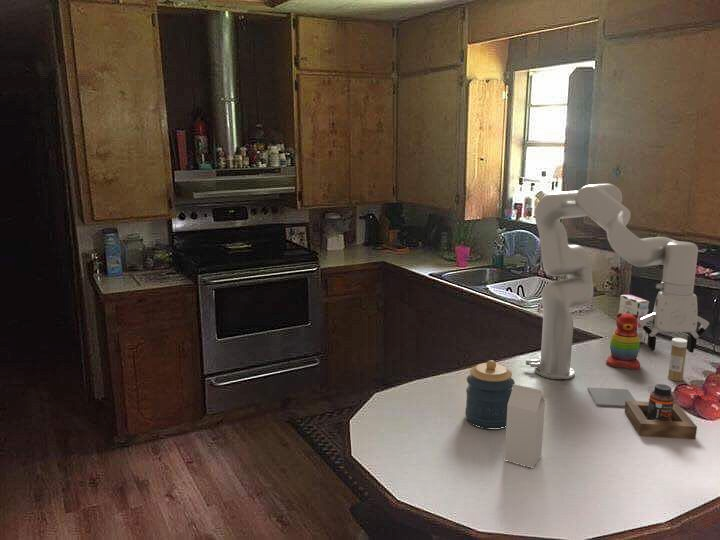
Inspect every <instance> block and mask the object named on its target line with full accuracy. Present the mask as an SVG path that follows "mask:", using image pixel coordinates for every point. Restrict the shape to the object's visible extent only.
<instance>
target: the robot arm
mask: <svg viewBox="0 0 720 540" xmlns="http://www.w3.org/2000/svg"><path fill="white" fill-rule="evenodd" d="M622 203H623V194H622V191H621V190H620V188H619V187H618V186H616V185H614V184H612V183H596V184H593V183H592V184H586V185H584V186H582V187H581V188H579V189H578V190H569V191H567V190H566V191H555V192H550V193H547V194H546V195H543V196H542V197H541V198H540V199H539V200H538V201H537V204H536V206H535V209H534V218H535V223H536V227H537V231H538V234H539V244H540V251H541V253H540V254H541V261H542V266H543V270H544V272H545V274H546V275H548V276H551V277H562V276H567V278H565V279H558V280H553V281H551V282H549V283H547V284H545V286H544V287H543V288H542V290H541V303H542V317H543V318H542V329H541V331H542V333H541V346H540V347H541V348H540V355H539V356H538V358H535V359H531V358H525V365H526V366H529V365H530V367H531V368H534V372H535V373H536V374H537V375H538V374H539V376H540V375H541V376H540V377H542V376H543V378H545V377H546V379H549V378H551V379H550V380H555V379H565V380H570V379H572V378H573V377H574V376H575V369H573V368H572V367H571V360H572V349H573V338H574V337H573V334H574V320H573V319H574V318H573V317H572V314H571V310H570V309H574V308H578V307H583V306H586V305H588V304H589V303H591V301H592V300H593V298H594V281H593V274H592V273H593V272H592V264H591V258H590V256H589V253H588V251H587V250H586V249H585V248H584V247H582V246H581V245H579V244H569V240H568V233H567V230H566V228H565V226H564V224H563V223H562V222H561V220H563V219H571V218H573V219H574V218H582V217H583V218H584V217H589V218H590V219H591V220H592V221H593V222H594V223H596V224H597V225H598V226H599V227H601V228H602V229H603V230H604V231H605V232H606V238H607V241H608V243H609V245H610V247H611V249H612V251H614V252H615V253H616V254H617V255H618V256H619V257H620V258H621V259H623V260H624V261H625V262H627V263H629V264H630V265H631V266H634V267H637V268H644V267H650V266H651V267H652V266H659V265H663V270H662V280H661V282H660V283H656V284H655V289H657V290H660V291H658V293H657V295H656V297H655V303H654V307H653V311H652V313H648V315H647V316H644V317H642V318H640V319H639V322H640V324H641V326H642V328H643V329H644V330H645V331H646V334H647V343H646V346H647V347H648V348H649V350H650V351H652V352H654V351H656V342H657V336H656V335H657V334H658V333H659V332H666V333H667V332H668V333H688V335H687V339H686V340H687V347H686V351H688V352H689V353H691V354H692V353H694V351H695V349H696V347H697V346H696V345H697V339H698V338H700V336H701V335H702V334H703V333H705V331H706V330H707V328H708V327H709V325H710V322H709V321H708V320H706V319H704V318H703V317H701V316H699V315H698V314H699V313H698V311H699V310H698V297H697V295H696V294H695V293H694V289H695V280H696V279H695V278H696V271H697V262H698V254H699V247H698V246H697V244H695V243H694V242H691V241H690V242H689V241H682V240H681V241H679V240H677V239H673V238H670V237H667V236H655V237H644V238H640V237H638V236H637V235H635V233H633V232H632V231H631V230H630V229H629V228H628V227H627V225H628V224H629V222H630V220H631V216H632V215H631V214H632V213H631V211H630V209H628V207H626V206H625V205H624V204H622ZM650 321H651V326H650V327H648V322H650ZM646 323H647V324H646ZM698 323H700V325H699V326H698Z"/></svg>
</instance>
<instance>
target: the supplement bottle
mask: <svg viewBox="0 0 720 540" xmlns="http://www.w3.org/2000/svg"><path fill="white" fill-rule="evenodd" d="M648 400H649V401H648V402H649V406H648V414H647V417H646V418H647V420H660V421H671V417H672V410H673V403H675V402H674V400H675V398H674V395H673V394H672V387H671V386H669V385H667V384H663V383H657V384H655V385H654V389H653V391H651V392H650V394H649V399H648Z"/></svg>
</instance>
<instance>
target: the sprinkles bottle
mask: <svg viewBox="0 0 720 540" xmlns="http://www.w3.org/2000/svg"><path fill="white" fill-rule="evenodd" d="M686 347H687V339H686V338H682V337H673V338H672V339H671V349H670V357H669V365H668V375H667V379H669V380H671V381H674V382H682V381H683V380H684V372H685V367H686V366H685V365H686V355H687V349H686Z"/></svg>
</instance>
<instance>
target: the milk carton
mask: <svg viewBox="0 0 720 540" xmlns="http://www.w3.org/2000/svg"><path fill="white" fill-rule="evenodd" d="M545 407H546V399H545V397H544V395H543V389H538V388H534V387H533V388H532V387H528V386H524V385H520V384H516V383H515V384H513V387H512V392H511V395H510V398H509V401H508V404H507V423H506V428H505V442H504V443H505V444H504V459H505V460H508V461H511V462H515V463H518V464H522V465H525V466H529V467H532V468H533V467H534V468H535V467H536V465H537V462H538V461H539V460H540V458H541V457H542V454H543V453H542V452H543V451H542V449H543V438H544V437H543V436H544V423H545V422H544V421H545V410H546V409H545ZM540 456H541V457H540ZM504 459H503V460H504ZM505 460H504V461H505ZM511 462H510V463H511ZM518 464H517V465H518ZM535 464H536V465H535ZM525 466H524V467H525ZM532 468H531V469H532ZM534 468H533V469H534Z"/></svg>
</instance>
